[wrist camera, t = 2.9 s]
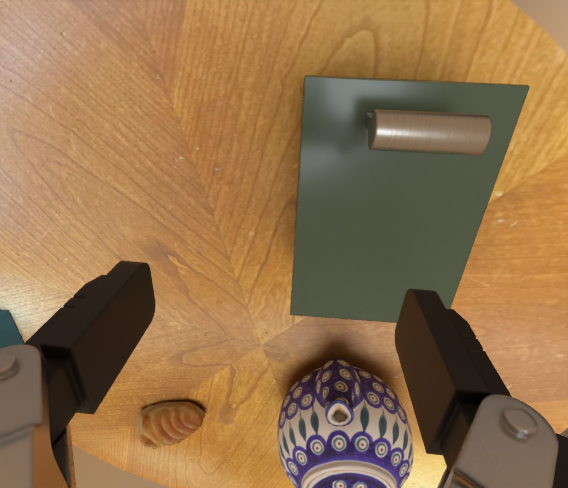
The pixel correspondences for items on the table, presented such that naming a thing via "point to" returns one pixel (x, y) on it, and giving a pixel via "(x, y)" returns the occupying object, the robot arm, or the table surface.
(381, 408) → the teapot
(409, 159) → the lid
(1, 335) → the blue rectangular block
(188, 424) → the pastry
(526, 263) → the table surface
